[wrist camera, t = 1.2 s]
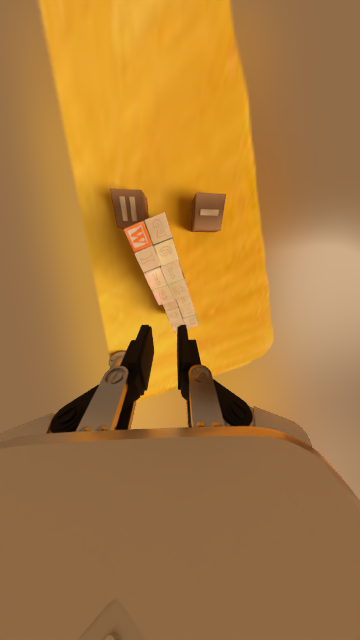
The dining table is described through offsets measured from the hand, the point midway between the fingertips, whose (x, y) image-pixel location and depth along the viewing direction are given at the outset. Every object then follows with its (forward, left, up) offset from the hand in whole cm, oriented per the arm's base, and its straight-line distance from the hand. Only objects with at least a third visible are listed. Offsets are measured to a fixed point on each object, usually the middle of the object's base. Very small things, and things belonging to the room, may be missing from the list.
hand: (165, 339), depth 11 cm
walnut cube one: (+12, -7, -25) cm, 29 cm away
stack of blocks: (0, 0, -26) cm, 26 cm away
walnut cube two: (+12, +7, -25) cm, 29 cm away
